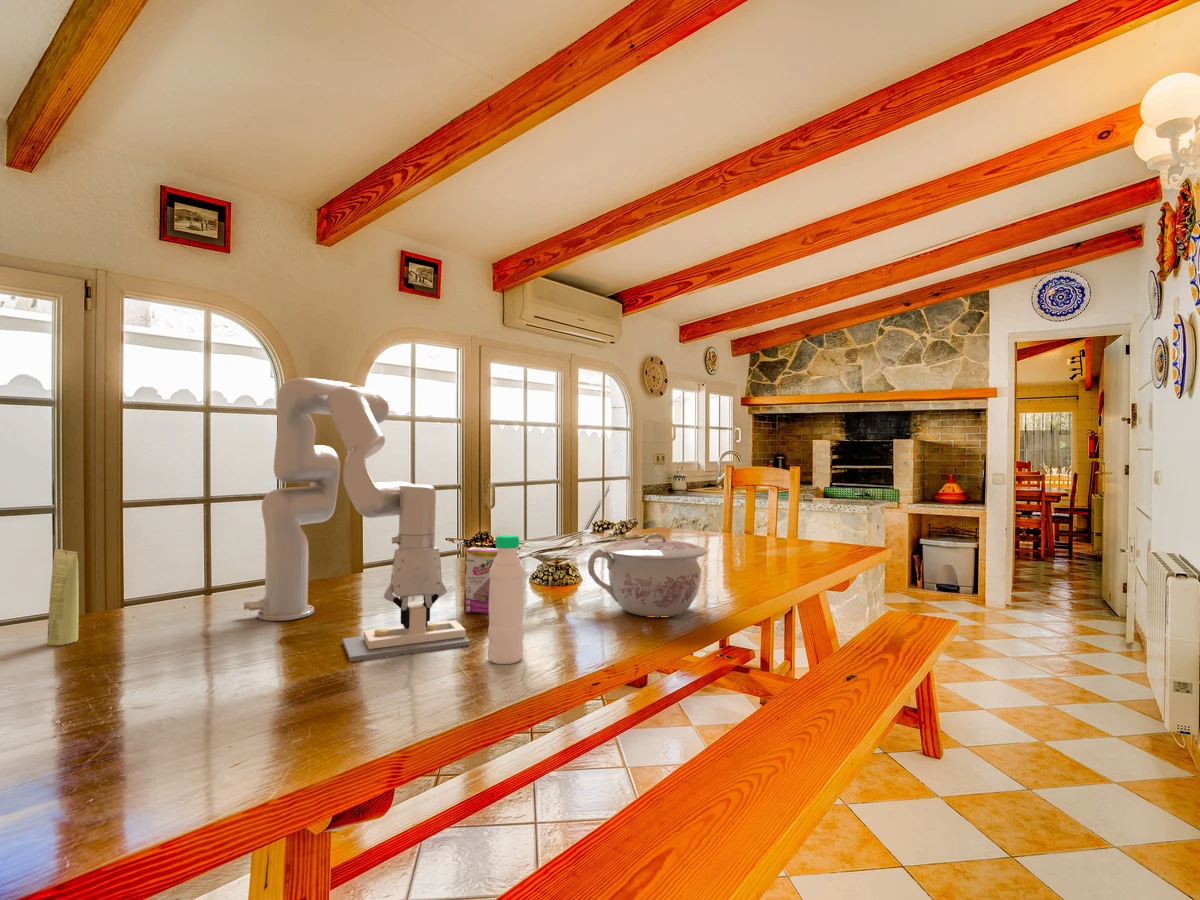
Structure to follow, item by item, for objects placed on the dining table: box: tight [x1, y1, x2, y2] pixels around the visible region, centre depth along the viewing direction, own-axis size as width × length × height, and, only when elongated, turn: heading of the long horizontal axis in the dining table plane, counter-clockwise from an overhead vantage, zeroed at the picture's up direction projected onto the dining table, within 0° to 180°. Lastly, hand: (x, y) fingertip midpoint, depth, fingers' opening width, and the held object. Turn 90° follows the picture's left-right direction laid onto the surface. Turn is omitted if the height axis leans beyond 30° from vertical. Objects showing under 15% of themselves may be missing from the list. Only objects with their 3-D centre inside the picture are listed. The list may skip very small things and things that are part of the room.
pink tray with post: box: [362, 601, 467, 649], centre depth 135 cm, size 20×8×7 cm, turn 118°
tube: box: [47, 548, 80, 646], centre depth 131 cm, size 6×5×20 cm
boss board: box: [342, 622, 470, 663], centre depth 134 cm, size 24×13×4 cm, turn 118°
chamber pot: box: [587, 533, 708, 617], centre depth 165 cm, size 28×28×21 cm
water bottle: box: [487, 534, 525, 665], centre depth 126 cm, size 7×7×25 cm
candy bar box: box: [463, 546, 498, 615], centre depth 161 cm, size 11×5×16 cm, turn 84°
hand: (415, 625), depth 135 cm, fingers closed on pink tray with post, 3 cm apart
